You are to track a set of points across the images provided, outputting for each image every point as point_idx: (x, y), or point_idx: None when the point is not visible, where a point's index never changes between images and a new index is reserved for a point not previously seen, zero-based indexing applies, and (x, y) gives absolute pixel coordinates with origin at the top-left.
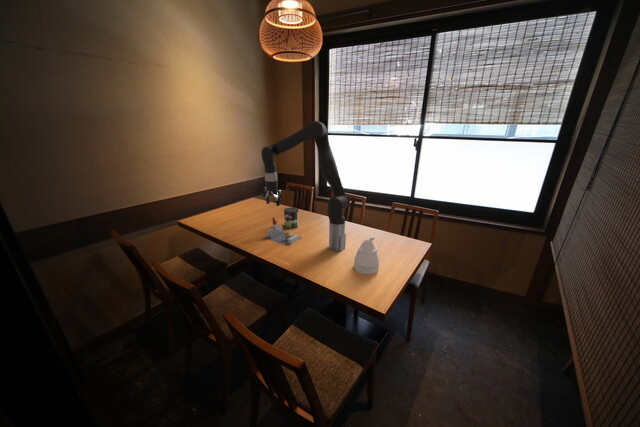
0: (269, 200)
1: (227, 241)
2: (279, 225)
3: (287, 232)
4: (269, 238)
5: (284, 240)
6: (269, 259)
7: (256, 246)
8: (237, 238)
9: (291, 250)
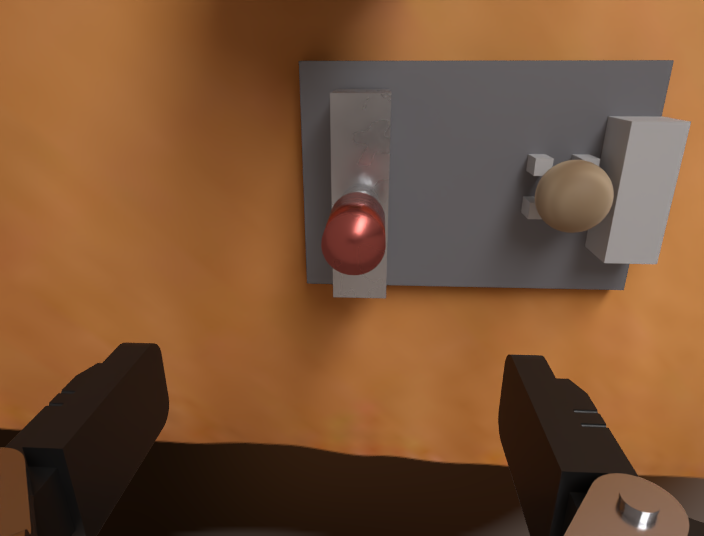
0: (118, 390)
1: None
2: (355, 109)
3: (575, 214)
4: None
5: (524, 222)
6: None
7: (351, 384)
8: None
9: (658, 293)
